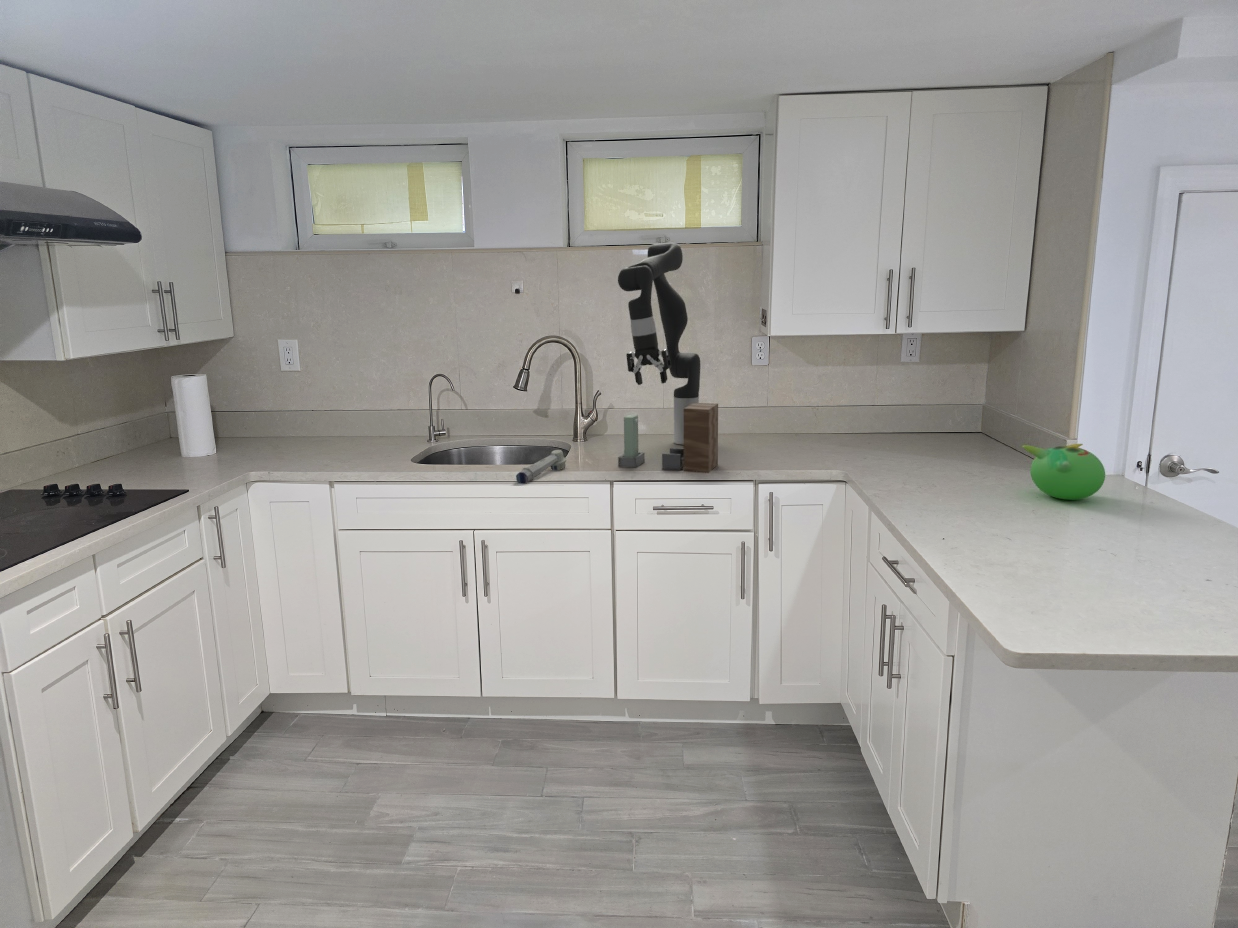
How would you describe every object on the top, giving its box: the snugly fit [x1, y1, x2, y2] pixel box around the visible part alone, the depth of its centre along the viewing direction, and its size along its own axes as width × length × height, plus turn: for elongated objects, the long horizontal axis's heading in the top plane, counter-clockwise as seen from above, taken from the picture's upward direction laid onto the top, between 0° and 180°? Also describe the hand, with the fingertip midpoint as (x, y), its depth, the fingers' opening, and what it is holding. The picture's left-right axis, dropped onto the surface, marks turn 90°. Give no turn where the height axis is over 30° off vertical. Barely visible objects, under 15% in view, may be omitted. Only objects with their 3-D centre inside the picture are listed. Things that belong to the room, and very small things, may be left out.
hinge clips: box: [661, 447, 684, 471], centre depth 260 cm, size 10×6×5 cm, turn 160°
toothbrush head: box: [515, 449, 567, 484], centre depth 252 cm, size 5×7×25 cm
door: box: [623, 414, 639, 458], centre depth 263 cm, size 6×4×16 cm, turn 160°
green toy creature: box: [1021, 443, 1106, 501], centre depth 212 cm, size 18×17×15 cm
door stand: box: [617, 451, 646, 468], centre depth 265 cm, size 9×6×3 cm, turn 160°
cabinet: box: [683, 402, 719, 474], centre depth 255 cm, size 13×8×20 cm, turn 160°
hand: (651, 383), depth 252 cm, fingers open, 8 cm apart
